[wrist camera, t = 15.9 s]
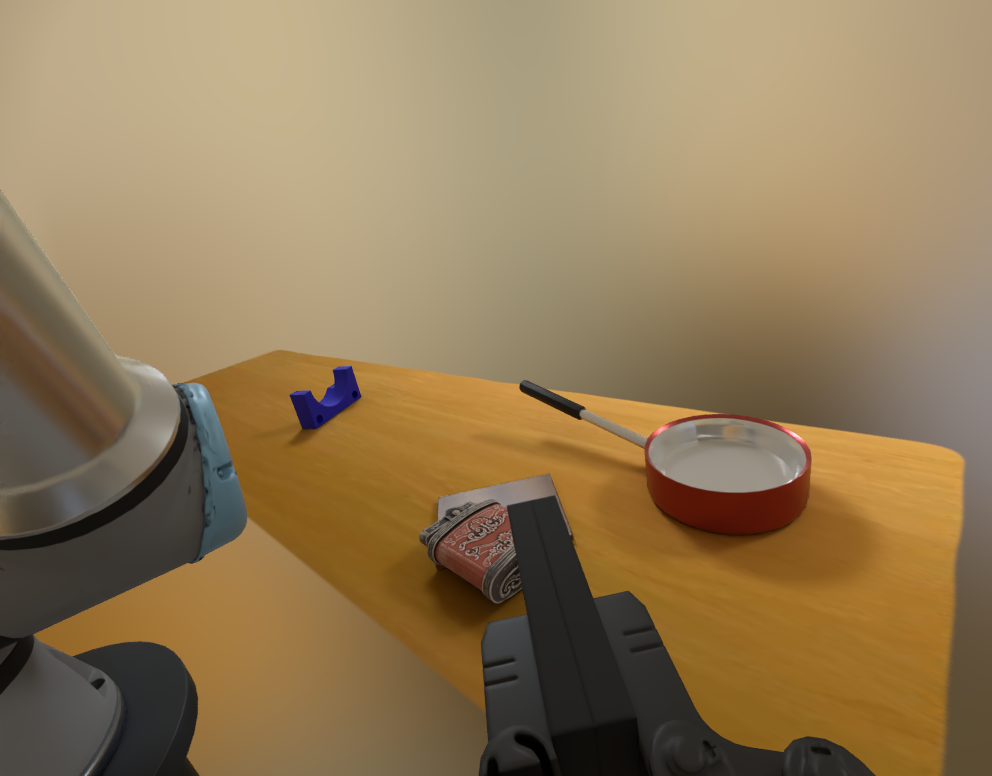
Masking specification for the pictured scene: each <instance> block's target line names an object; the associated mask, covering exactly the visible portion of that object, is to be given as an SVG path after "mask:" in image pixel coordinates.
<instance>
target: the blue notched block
mask: <svg viewBox="0 0 992 776" xmlns="http://www.w3.org/2000/svg"><path fill="white" fill-rule="evenodd" d="M333 372H334V379H335V383H334V384H333V385H332V386H330V387H329V388H327V391H326V394H325V396H324V398H323V399H322V400H321V401H320V402H317V401H316V399H315V398H314V397H313V395H312V393H311V391H296V392H294V393H292V394H290V397H291V400H292V403H293V405H294V408H295V410H296V413H297V416H298V418H299V421H300V423H301V426H302V428H306V429H317V428H318V427H319V426H321V425H322V424H324V423H325V422H326V421H328V420H329V419H331V418H332V417H334V416H335V415H336V414H338V413H339V412H341V411H342V410H343V409H345V408H346V407H348V406H349V405H350V404H352V403H353V402H355V401H356V400H357V399H359V398H360V397H361V394H360V391H359V388H358V385H357V382H356V379H355V376H354V372H353V369H352V366H343V367H337V368H335V369H333Z"/></svg>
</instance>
